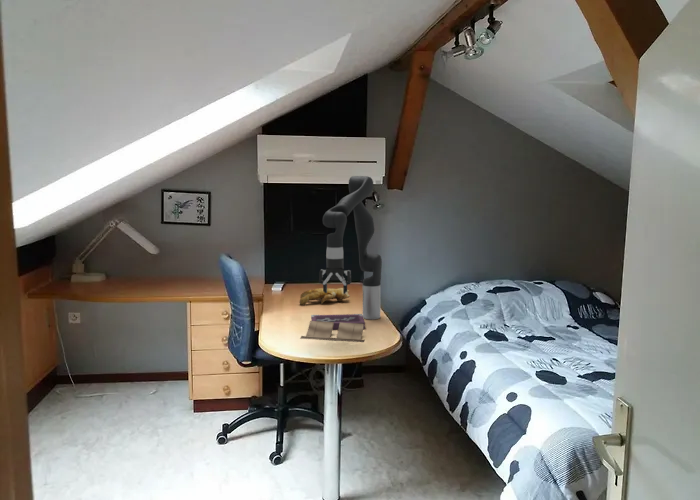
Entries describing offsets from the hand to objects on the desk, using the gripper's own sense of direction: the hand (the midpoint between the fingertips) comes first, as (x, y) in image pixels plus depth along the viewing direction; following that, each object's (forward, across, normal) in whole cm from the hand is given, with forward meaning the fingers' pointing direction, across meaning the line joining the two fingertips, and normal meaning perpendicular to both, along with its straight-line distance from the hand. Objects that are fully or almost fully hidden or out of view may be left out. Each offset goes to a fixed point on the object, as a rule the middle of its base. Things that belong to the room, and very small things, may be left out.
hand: (335, 293), depth 242 cm
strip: (+21, +1, +4) cm, 22 cm away
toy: (+22, +22, -71) cm, 77 cm away
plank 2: (+18, -7, -2) cm, 19 cm away
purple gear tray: (+22, +3, -19) cm, 29 cm away
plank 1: (+18, +7, -2) cm, 20 cm away
